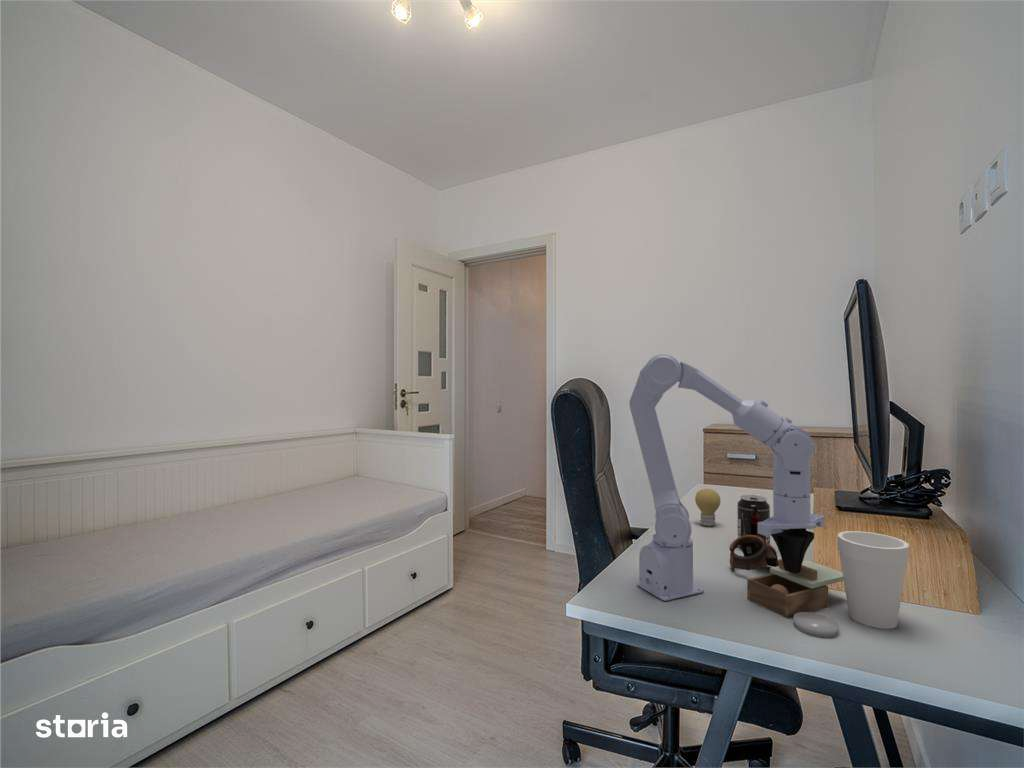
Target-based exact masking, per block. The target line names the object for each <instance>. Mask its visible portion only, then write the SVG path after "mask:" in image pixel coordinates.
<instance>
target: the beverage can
mask: <svg viewBox="0 0 1024 768" xmlns="http://www.w3.org/2000/svg"><path fill="white" fill-rule="evenodd" d="M767 500H768V499H767V497H764V496H761V495H753V494H742V495H741V496H740V500H738V502H737V505H736V506H737V508H736V509H737V511H736V512H737V538H739V537H741V536H742V535H744V534H747V535H756V536H759V537H761V538H762V539H764V541H765V542H767V543H768V544H770V545H771V536H765V535H761V534H758V522H762V521H765V520H767V519H768V518H770V517H771V506H770V504H769V503H768V502H767ZM755 545H756V546H759V544H755Z"/></svg>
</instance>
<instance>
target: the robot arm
mask: <svg viewBox="0 0 1024 768" xmlns="http://www.w3.org/2000/svg"><path fill="white" fill-rule="evenodd" d="M677 383H679V384H678V389H685V390H693V391H696V392H697V393H698V394H700V395H702V396H703V397H705V398H707V400H709V401H710V402H713V403H714V404H716V405H717V406H719V407H720V408H722V409H724V410H725V411H727V412H729V413H730V414H731V416H732V420H733V425H735V426H736V427H737V428H738V429H741V430H742V431H743V432H745V433H747V434H748V435H749V436H751V437H752V438H754V439H755V440H757V441H758V442H760V443H761V444H763V445H764V446H769V449H770V450H771V451H772V452H773V467H772V476H773V477H772V481H773V482H772V483H773V484H772V485H773V487H772V489H773V490H772V496H773V497H772V501H773V502H772V504H773V506H772V507H773V508H772V509H773V511H772V513H773V515H772V516H770V518H768V519H767V520H765V521H762V522H758V534H761V535H765V536H770V537H771V538H772V539H773V541H774V542H775V544H776V547H777V549H778V551H779V552H778V553H779V555H780V558H781V559H782V562H783V565H784V569H785V570H786V571H789V572H792V573H799V572H800V569H801V566H802V562H803V561H804V558H805V555H806V552H807V551H808V548H809V547H810V545H811V543H812V542H813V541H814V539H815V533H814V531H813V532H812V531H809V530H814V529H816V528H817V527H819V528H823V527H825V516H824V515H821V514H817V513H811V469H810V458H811V457H812V455H813V454H814V452H815V450H816V444H815V443H814V442H813V438H812V437H811V435H810V434H809V433H808V432H807V431H806V430H804V429H802V428H799V427H796V426H795V425H793V424H792V423H793V420H792V419H790V418H789V417H785V418H784V417H782V416H781V415H780V414H778V413H776V412H775V411H773V410H772V409H770V408H769V407H768V406H769V403H767V402H766V401H764V400H762V399H761V400H760V401H758V400H756V399H754V398H752V399H747V400H745V399H742V398H740V397H739V396H737V395H736V394H734V393H732V391H730V390H729V389H727V387H724V386H723V385H721V384H720V383H718V382H717V381H716V380H714V379H713V378H711V377H710V376H708V375H707V374H706V373H704V371H701V370H700V369H698V368H696V367H694V366H692V365H690V364H688V363H685V362H684V361H680V362H679V361H678V359H676V358H675V357H674V356H672V355H670V354H667V353H661V354H656V355H654V356H653V357H651V358H650V359H649V360H648V361H647V362H646V364H645V365H643V367H642V369H641V370H640V371H639V375H638V377H637V380H636V383H635V386H634V388H633V390H632V394H631V396H630V399H629V409H630V414H631V417H632V421H633V424H634V427H635V433H636V436H637V441H638V444H639V447H640V452H641V455H642V460H643V463H644V466H645V470H646V475H647V478H648V483H649V486H650V490H651V493H652V494H651V495H652V499H653V505H654V510H655V514H654V515H655V523H654V532H655V533H654V534H653V535H652V540H651V542H649V543H648V544H645V545H643V546H642V547H641V549H640V551H639V555H638V556H639V557H638V558H639V561H638V562H639V563H638V564H639V566H638V567H639V571H638V573H639V578H638V579H639V581H638V582H636V585H637V586H638V587H640V588H642V589H643V590H645V591H646V592H649V593H650V594H651V595H653V596H655V597H657V598H658V599H660V600H661V601H665V602H667V601H671V600H674V599H679V598H684V597H688V596H693V595H697V594H701V593H705V592H704V591H705V590H704V588H702V587H700V586H698V585H697V584H694V540H693V538H692V537H691V535H692V525H691V522H690V514H689V511H688V510H687V508H686V506H685V505H683V503H682V502H681V500H680V496H679V493H678V490H677V487H676V483H675V478H674V476H673V472H672V467H671V463H670V460H669V457H668V452H667V450H666V445H665V444H666V443H665V441H664V437H663V434H662V430H661V425H660V422H659V419H658V415H657V410H656V407H657V406H658V404H659V402H660V401H661V399H662V397H663V396H664V394H665V393H666V392H667V391H669V390H670V389H672V388H673V386H675V385H676V384H677Z"/></svg>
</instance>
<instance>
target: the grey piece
mask: <svg viewBox="0 0 1024 768" xmlns="http://www.w3.org/2000/svg"><path fill="white" fill-rule="evenodd" d="M793 625H794V627H795V628H796V629H797V630H798V631H800V632H802V633H804V634H806V635H809V636H813V637H817V638H821V639H833V638H836V637H838V636H839V635H840V633H839V632H840V631H839V623H838V622H837V621H836V620H834V619H833V618H832V617H829V616H827V615H824V614H821V613H817V612H814V611H813V612H798V613H796V614H794V617H793Z"/></svg>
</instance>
